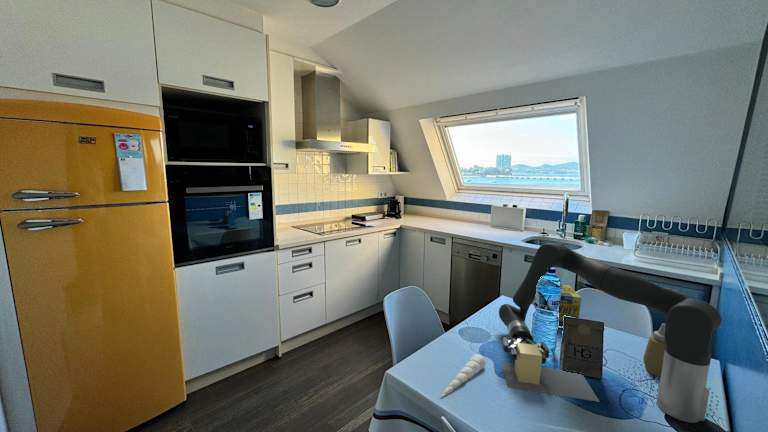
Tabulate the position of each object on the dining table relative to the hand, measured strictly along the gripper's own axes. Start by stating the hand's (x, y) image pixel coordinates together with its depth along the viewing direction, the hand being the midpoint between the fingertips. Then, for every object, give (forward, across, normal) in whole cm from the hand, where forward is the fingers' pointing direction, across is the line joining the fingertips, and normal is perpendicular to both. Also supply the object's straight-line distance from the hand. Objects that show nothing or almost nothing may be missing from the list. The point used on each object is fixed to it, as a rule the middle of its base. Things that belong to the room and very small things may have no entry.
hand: (529, 359), depth 101 cm
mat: (-2, +6, +8) cm, 10 cm away
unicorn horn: (+4, -20, +8) cm, 23 cm away
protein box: (-49, +24, +8) cm, 55 cm away
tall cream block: (-2, 0, +8) cm, 8 cm away
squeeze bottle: (-16, +45, +8) cm, 48 cm away
